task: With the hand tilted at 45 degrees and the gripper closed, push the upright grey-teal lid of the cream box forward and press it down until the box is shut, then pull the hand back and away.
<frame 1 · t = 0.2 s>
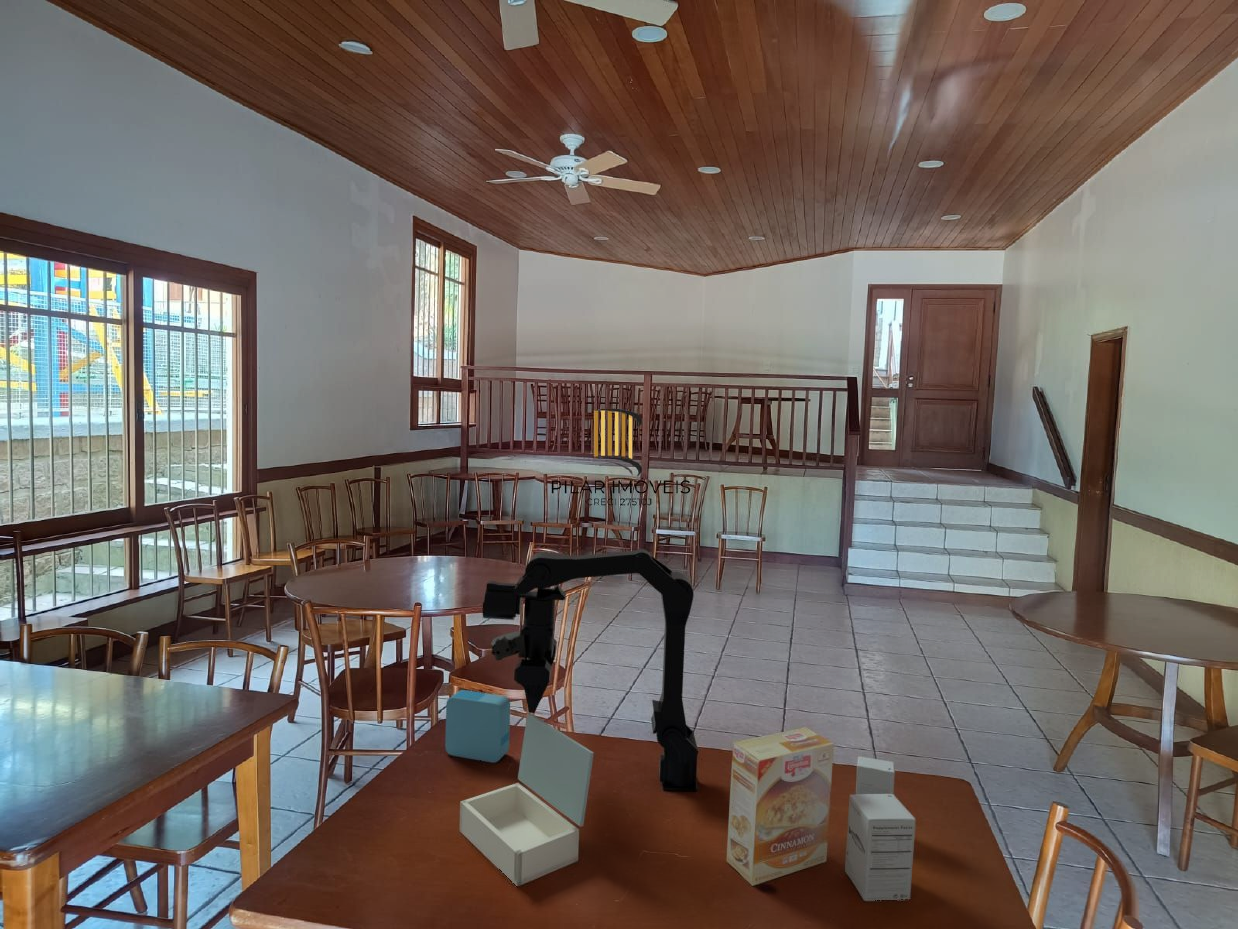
hand: (534, 702, 142), 15 cm above the table, tool pointing down, fingers open, 9 cm apart
skincare box: (871, 833, 129), on the table
coffeecake box: (776, 863, 119), on the table
cream box: (517, 845, 121), on the table
supplement box: (876, 887, 114), on the table
box lid: (553, 766, 124), point 11 cm above the table, hinge at 98.0°
blue rounded square block: (477, 755, 152), on the table
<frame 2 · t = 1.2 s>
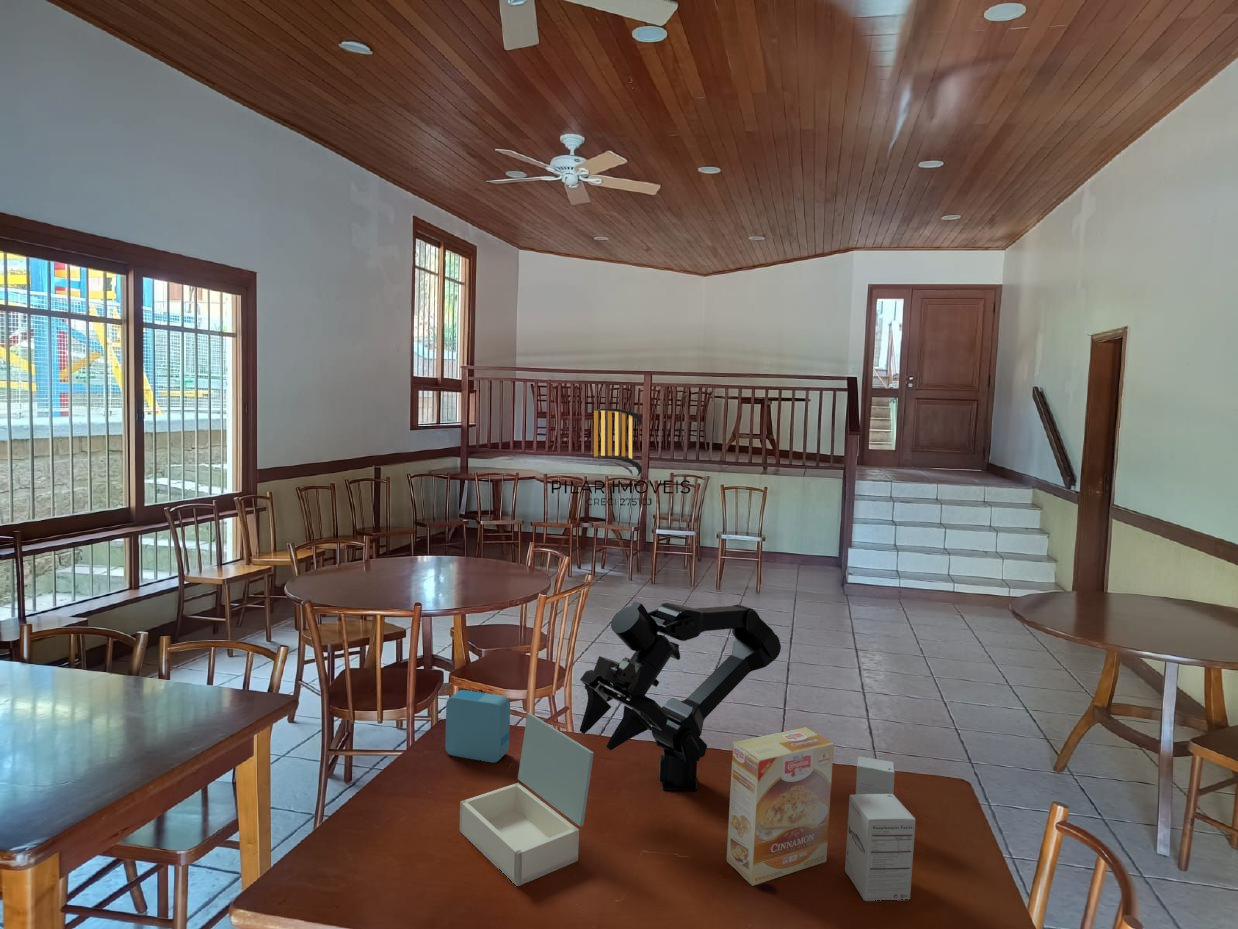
hand: (594, 740, 129), 13 cm above the table, tool tilted 45°, fingers open, 7 cm apart
nothing on the table moved.
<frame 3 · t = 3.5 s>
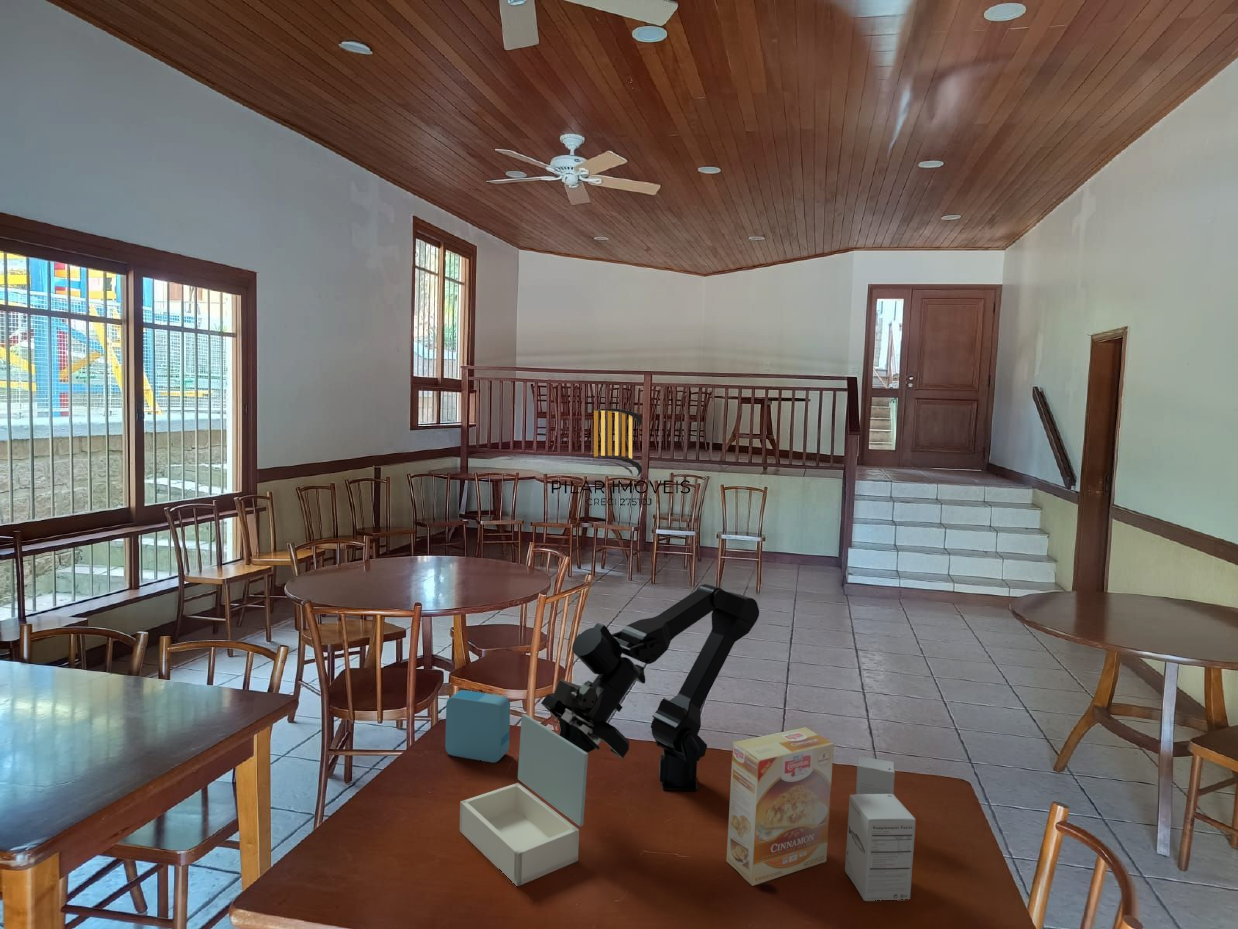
hand: (553, 768, 124), 11 cm above the table, tool tilted 45°, fingers closed, pressing on box lid
box lid: (550, 767, 124), point 11 cm above the table, hinge at 92.4°, touching gripper
everything else where it was.
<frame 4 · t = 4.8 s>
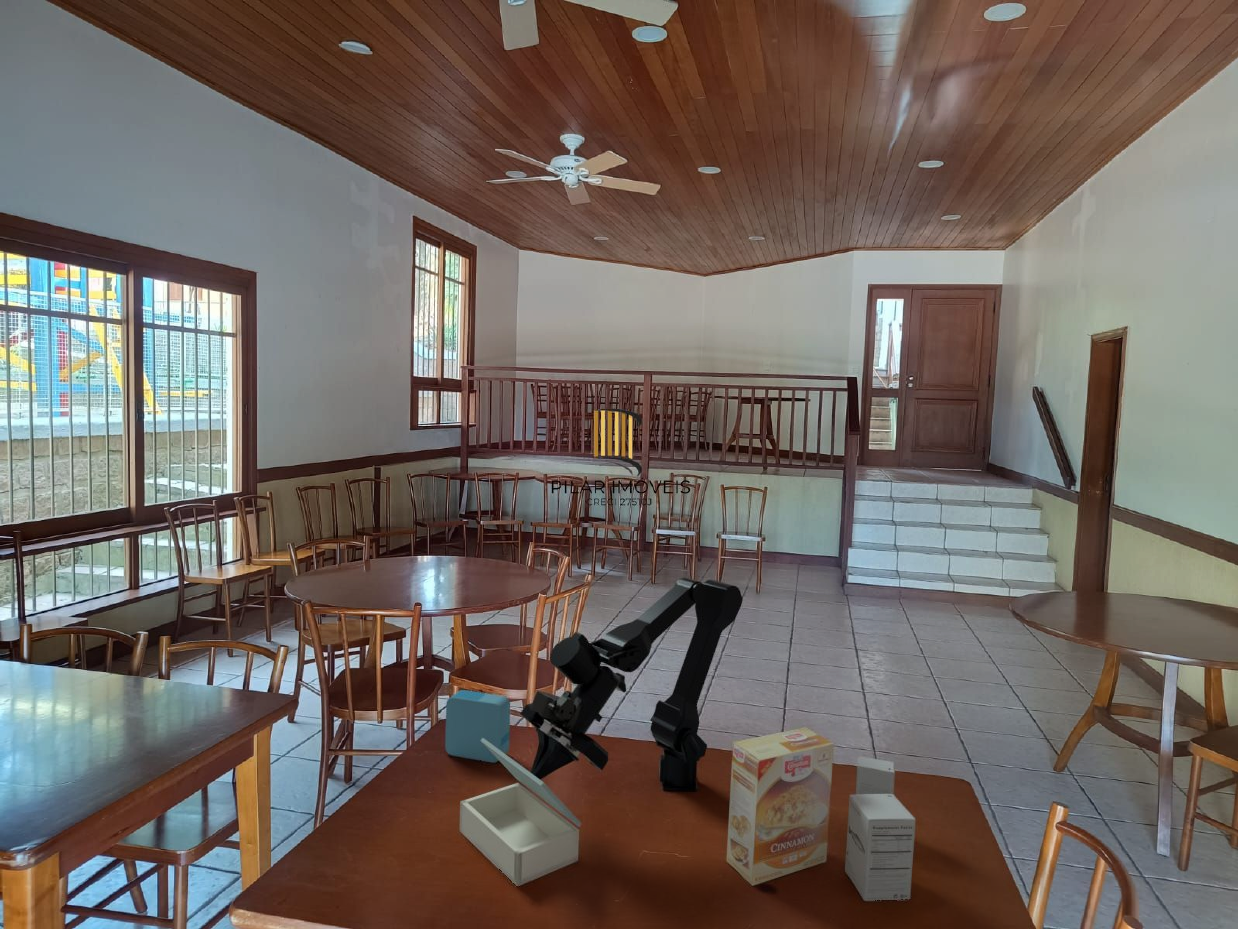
hand: (531, 780, 122), 10 cm above the table, tool tilted 45°, fingers closed, pressing on box lid
box lid: (529, 780, 121), point 10 cm above the table, hinge at 50.1°, touching gripper
everything else where it was.
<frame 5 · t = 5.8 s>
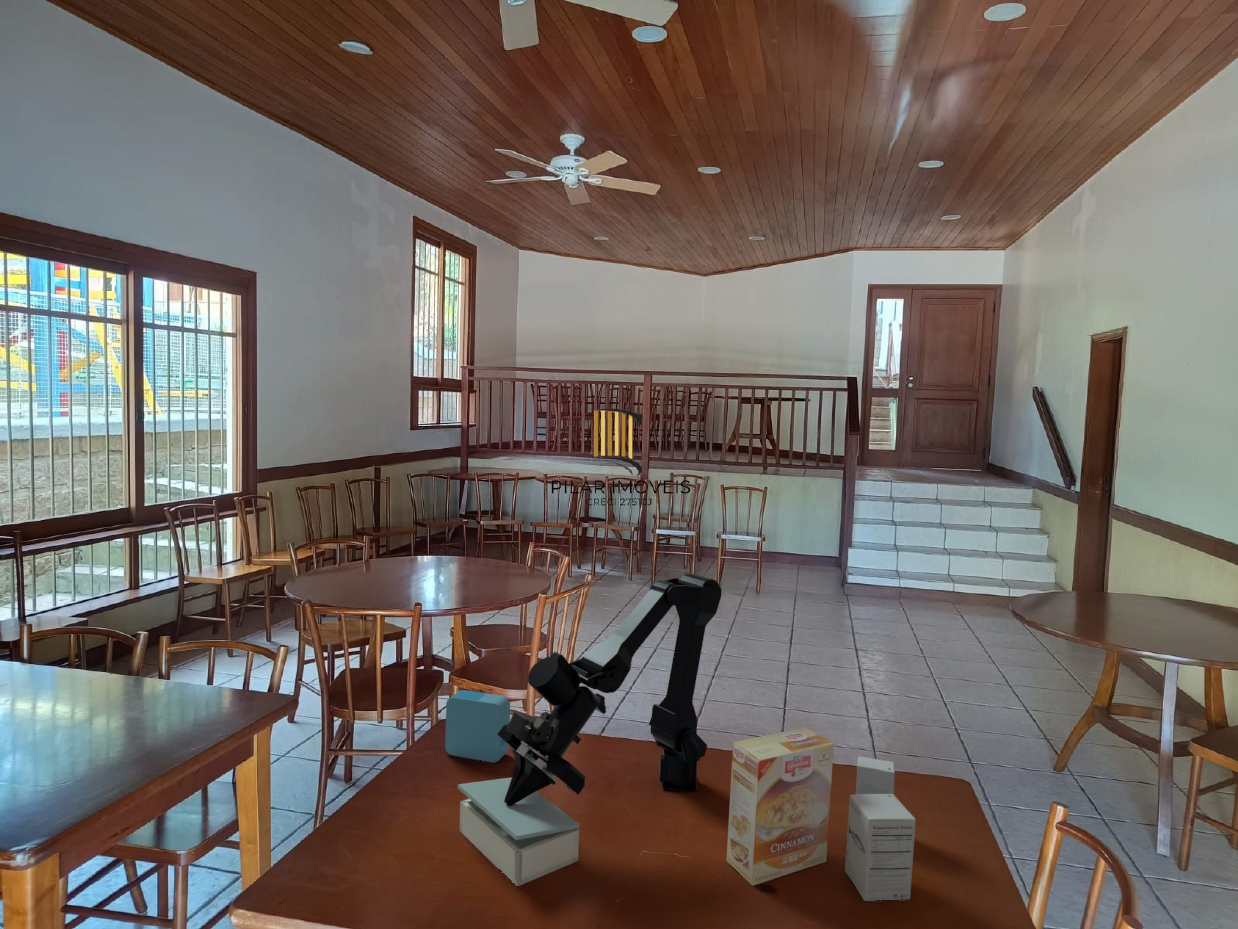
hand: (506, 804, 119), 7 cm above the table, tool tilted 45°, fingers closed, pressing on box lid
box lid: (516, 805, 120), point 7 cm above the table, hinge at 9.5°, touching gripper
everything else where it was.
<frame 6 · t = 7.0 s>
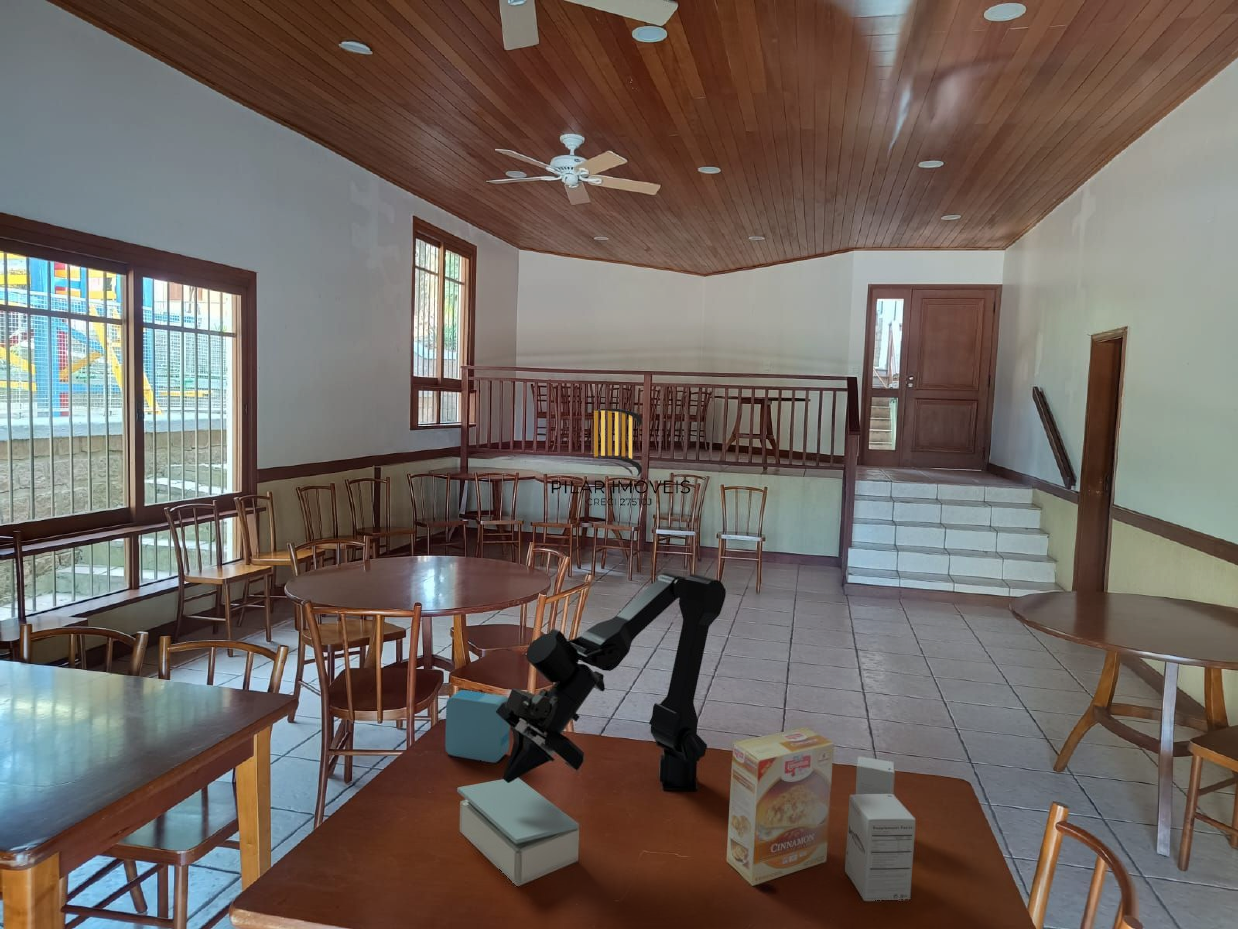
hand: (505, 781, 118), 11 cm above the table, tool tilted 45°, fingers closed
box lid: (516, 807, 120), point 6 cm above the table, hinge at 7.1°
everything else where it was.
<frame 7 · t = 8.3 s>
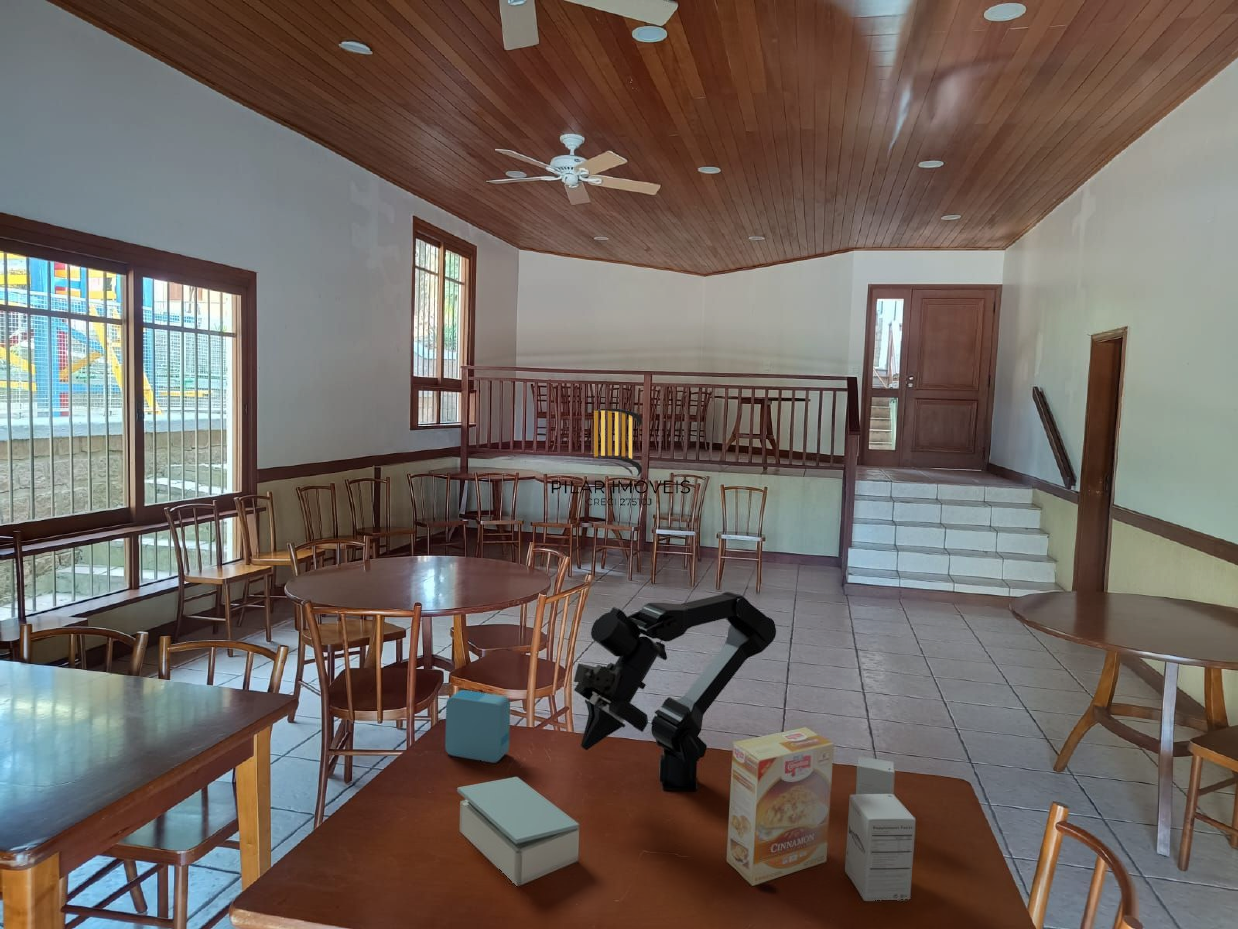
hand: (583, 748, 129), 12 cm above the table, tool tilted 40°, fingers closed
nothing on the table moved.
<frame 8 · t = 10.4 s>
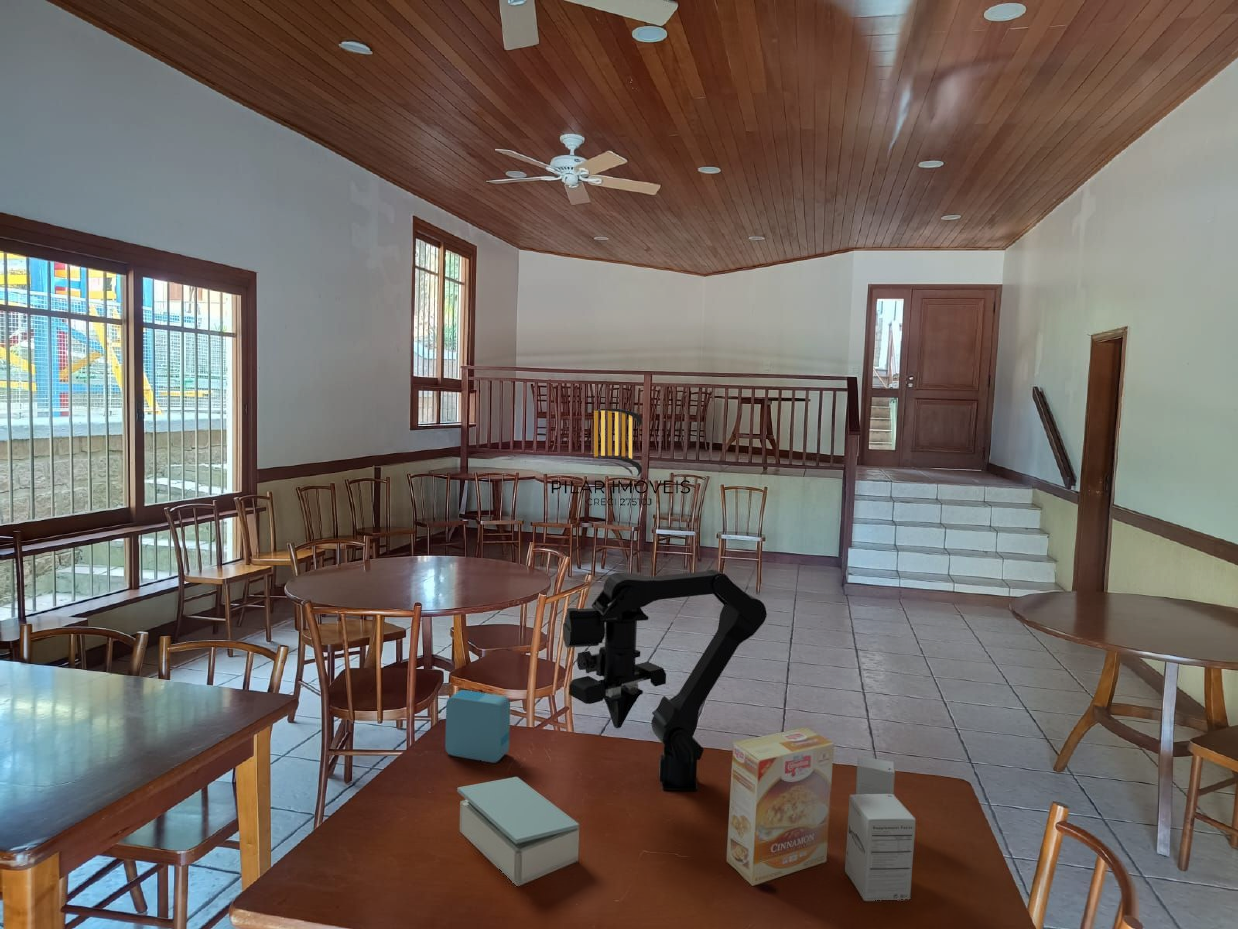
hand: (617, 727, 138), 12 cm above the table, tool pointing down, fingers closed
nothing on the table moved.
at the end: box lid at +7° (first picture: +98°) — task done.
